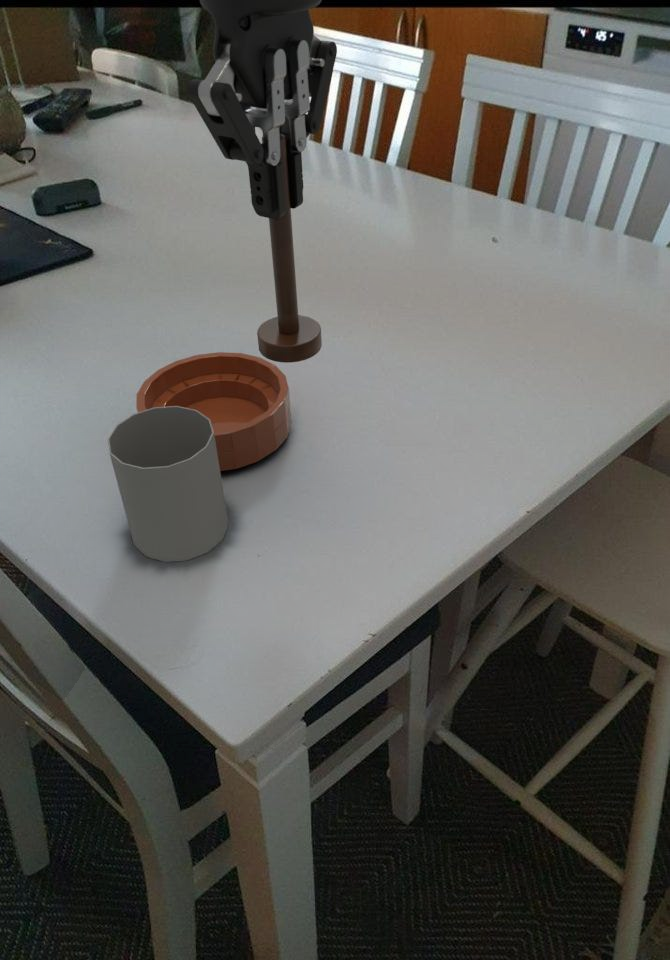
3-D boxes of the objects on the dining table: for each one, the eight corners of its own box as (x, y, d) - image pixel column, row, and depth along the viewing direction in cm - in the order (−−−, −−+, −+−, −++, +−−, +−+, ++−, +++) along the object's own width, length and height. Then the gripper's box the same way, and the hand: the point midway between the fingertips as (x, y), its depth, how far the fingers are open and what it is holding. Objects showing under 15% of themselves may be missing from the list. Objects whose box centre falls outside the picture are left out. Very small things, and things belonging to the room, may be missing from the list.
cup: (113, 547, 69) (86, 454, 63) (163, 488, 75) (143, 398, 69) (199, 571, 67) (180, 478, 60) (244, 509, 72) (231, 417, 66)
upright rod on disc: (275, 369, 62) (254, 153, 51) (248, 341, 65) (224, 133, 55) (332, 352, 63) (324, 139, 53) (304, 325, 67) (291, 121, 57)
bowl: (175, 497, 74) (166, 454, 71) (127, 418, 84) (117, 377, 81) (316, 447, 79) (313, 405, 76) (255, 378, 89) (250, 338, 86)
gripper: (271, -100, 52) (290, 172, 63) (123, -76, 43) (175, 235, 54) (372, -99, 49) (373, 188, 60) (234, -73, 40) (265, 258, 51)
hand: (279, 209), depth 57 cm, fingers closed on upright rod on disc
